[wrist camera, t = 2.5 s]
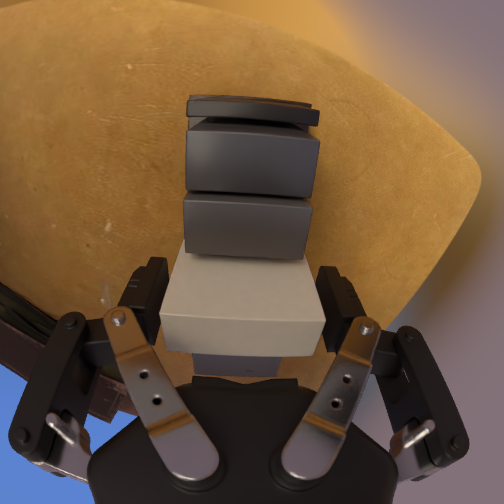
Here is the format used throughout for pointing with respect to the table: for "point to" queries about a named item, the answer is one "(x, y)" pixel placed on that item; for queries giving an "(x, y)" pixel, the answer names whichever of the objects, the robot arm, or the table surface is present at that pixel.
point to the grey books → (247, 191)
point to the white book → (241, 306)
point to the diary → (33, 342)
